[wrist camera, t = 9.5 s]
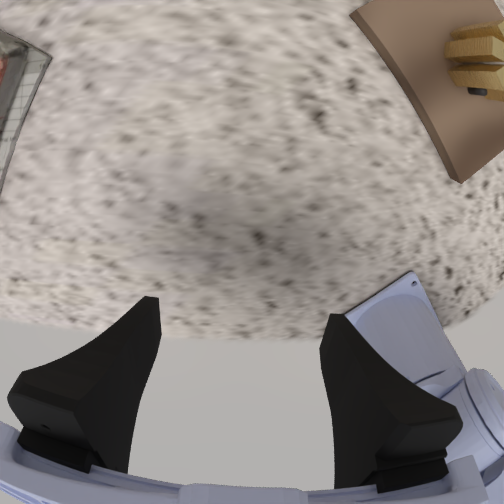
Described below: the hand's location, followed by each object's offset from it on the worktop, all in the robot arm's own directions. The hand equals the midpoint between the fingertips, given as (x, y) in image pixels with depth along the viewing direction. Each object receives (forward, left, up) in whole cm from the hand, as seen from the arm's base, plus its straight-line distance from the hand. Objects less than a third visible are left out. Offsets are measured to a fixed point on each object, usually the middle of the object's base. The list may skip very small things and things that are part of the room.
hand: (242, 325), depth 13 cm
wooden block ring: (+1, -20, -8) cm, 21 cm away
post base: (+1, -20, -9) cm, 22 cm away
